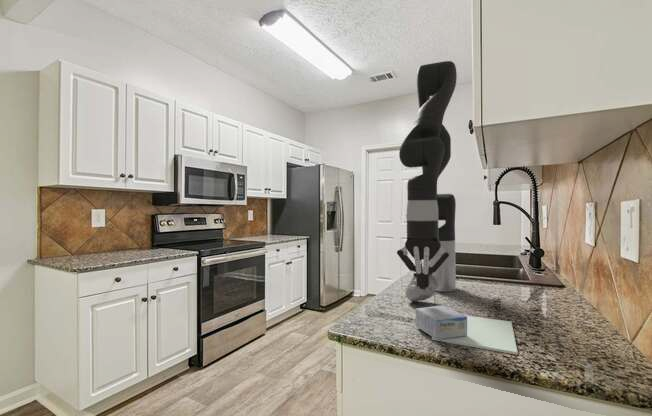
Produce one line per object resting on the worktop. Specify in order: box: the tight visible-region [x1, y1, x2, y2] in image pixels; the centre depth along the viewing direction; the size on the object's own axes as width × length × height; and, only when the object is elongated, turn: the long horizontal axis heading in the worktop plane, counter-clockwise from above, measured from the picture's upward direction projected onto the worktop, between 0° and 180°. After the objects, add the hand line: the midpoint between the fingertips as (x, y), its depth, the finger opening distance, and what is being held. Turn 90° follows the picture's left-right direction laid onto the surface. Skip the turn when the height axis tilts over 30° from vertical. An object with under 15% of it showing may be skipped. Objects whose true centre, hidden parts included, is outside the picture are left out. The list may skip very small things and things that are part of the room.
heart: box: [405, 265, 439, 305], centre depth 93 cm, size 10×10×12 cm
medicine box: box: [415, 304, 468, 341], centre depth 71 cm, size 8×4×9 cm
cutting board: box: [431, 314, 519, 356], centre depth 72 cm, size 18×16×1 cm
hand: (423, 288), depth 77 cm, fingers closed
